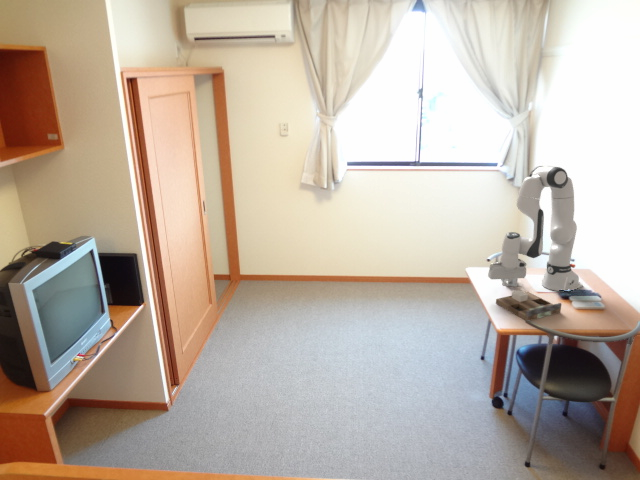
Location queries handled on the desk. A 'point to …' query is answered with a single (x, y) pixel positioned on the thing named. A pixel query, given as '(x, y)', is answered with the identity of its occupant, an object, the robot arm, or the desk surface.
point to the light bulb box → (512, 282)
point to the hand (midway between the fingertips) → (505, 285)
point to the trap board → (529, 307)
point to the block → (519, 296)
